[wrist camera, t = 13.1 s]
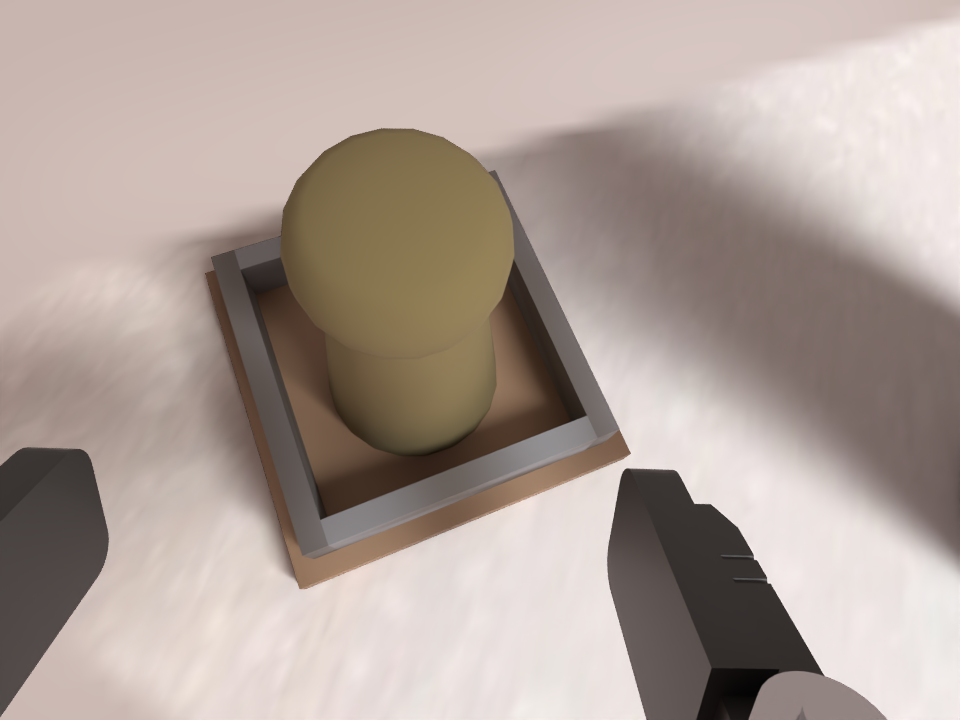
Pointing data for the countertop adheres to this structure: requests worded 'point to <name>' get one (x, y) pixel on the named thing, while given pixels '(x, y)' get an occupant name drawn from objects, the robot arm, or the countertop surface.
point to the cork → (401, 283)
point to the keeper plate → (391, 478)
